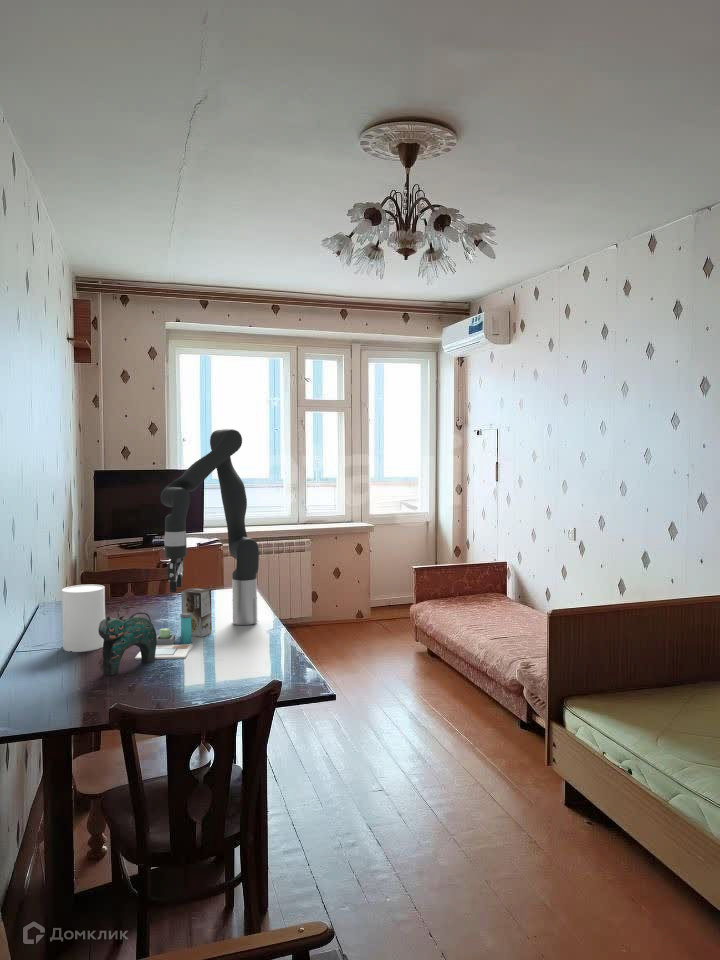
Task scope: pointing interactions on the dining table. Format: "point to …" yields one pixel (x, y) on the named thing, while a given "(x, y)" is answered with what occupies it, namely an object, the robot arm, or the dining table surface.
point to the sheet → (170, 651)
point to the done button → (164, 633)
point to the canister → (82, 617)
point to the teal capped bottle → (185, 628)
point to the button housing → (166, 640)
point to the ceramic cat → (126, 639)
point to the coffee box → (198, 610)
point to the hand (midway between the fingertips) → (176, 589)
